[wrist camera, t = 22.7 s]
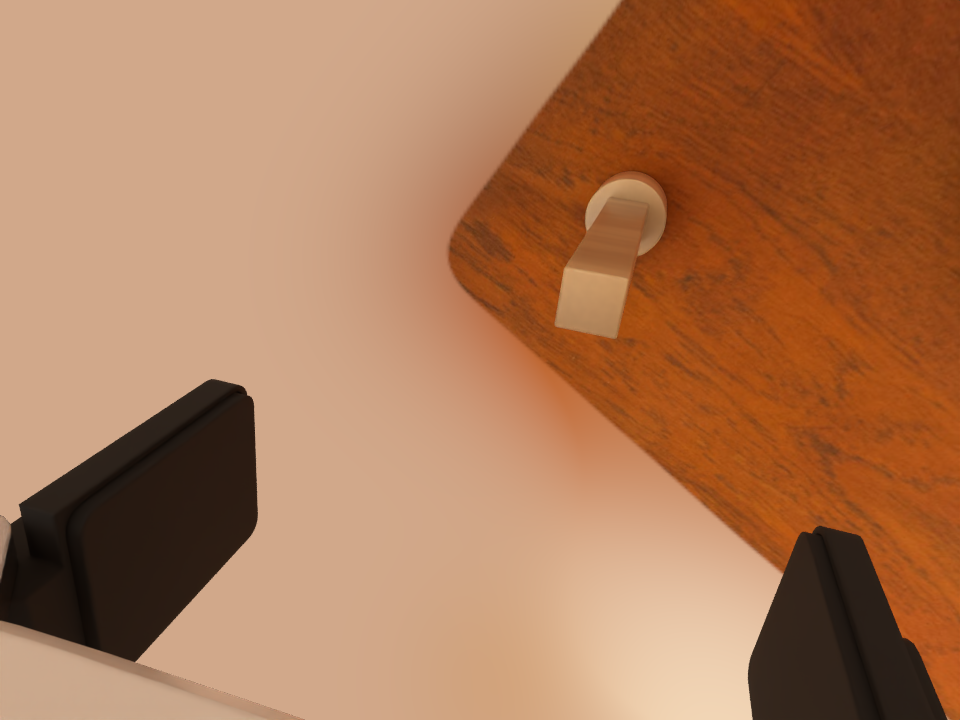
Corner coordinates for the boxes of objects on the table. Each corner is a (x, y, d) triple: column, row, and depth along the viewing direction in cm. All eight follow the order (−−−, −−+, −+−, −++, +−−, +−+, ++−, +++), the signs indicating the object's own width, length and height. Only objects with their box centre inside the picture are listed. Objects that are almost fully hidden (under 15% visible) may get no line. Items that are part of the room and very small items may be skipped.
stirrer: (599, 165, 32) (536, 228, 18) (675, 177, 32) (671, 252, 17) (586, 238, 34) (518, 349, 20) (658, 251, 33) (641, 375, 19)
